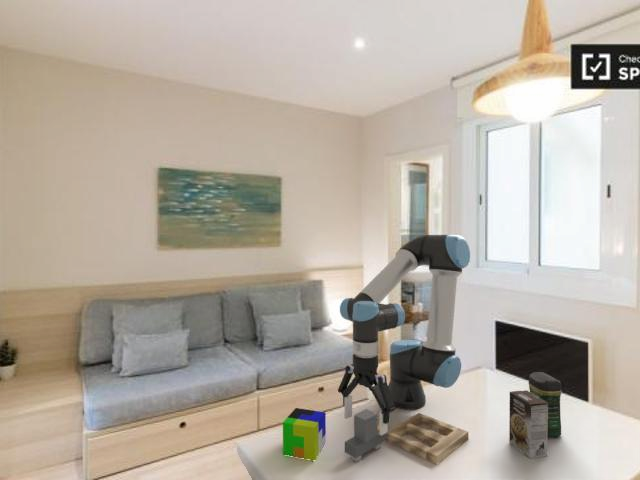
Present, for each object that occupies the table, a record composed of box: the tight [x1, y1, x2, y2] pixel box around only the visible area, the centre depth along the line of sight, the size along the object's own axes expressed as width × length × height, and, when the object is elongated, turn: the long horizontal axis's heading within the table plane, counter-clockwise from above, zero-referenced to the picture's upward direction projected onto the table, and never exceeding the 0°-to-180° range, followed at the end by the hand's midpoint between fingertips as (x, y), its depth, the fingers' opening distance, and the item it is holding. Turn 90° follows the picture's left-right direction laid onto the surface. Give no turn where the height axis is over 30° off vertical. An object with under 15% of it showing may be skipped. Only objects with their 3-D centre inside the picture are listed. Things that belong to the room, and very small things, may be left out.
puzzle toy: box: [282, 407, 327, 461], centre depth 121 cm, size 10×10×10 cm
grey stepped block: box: [344, 408, 386, 462], centre depth 119 cm, size 4×14×12 cm, turn 134°
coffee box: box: [508, 390, 548, 459], centre depth 119 cm, size 9×6×16 cm
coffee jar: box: [528, 371, 562, 439], centre depth 130 cm, size 10×8×19 cm
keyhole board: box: [385, 412, 469, 465], centre depth 125 cm, size 18×19×2 cm
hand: (365, 425), depth 118 cm, fingers open, 13 cm apart
